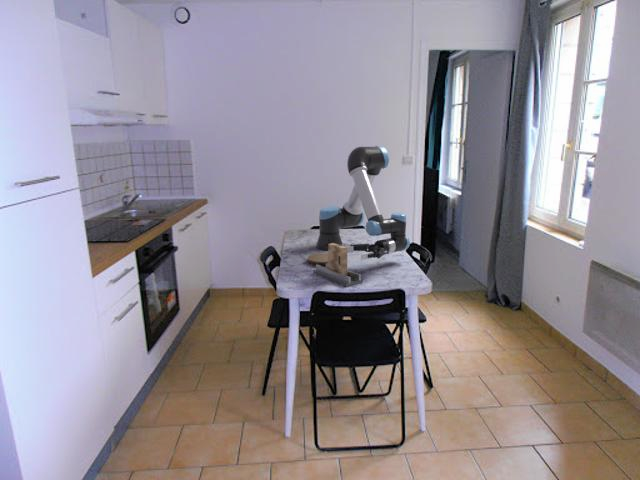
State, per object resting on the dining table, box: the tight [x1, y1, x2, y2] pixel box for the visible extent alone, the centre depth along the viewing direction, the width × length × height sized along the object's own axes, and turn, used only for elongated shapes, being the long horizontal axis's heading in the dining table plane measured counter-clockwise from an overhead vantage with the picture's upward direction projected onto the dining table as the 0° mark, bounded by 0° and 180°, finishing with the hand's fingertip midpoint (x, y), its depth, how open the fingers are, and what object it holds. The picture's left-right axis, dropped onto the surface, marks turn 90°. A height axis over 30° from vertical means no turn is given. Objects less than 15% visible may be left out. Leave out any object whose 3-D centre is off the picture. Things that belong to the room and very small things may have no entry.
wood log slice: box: [306, 252, 328, 268], centre depth 232 cm, size 16×16×3 cm
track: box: [312, 263, 364, 288], centre depth 208 cm, size 24×10×4 cm, turn 37°
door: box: [327, 243, 348, 276], centre depth 206 cm, size 10×3×14 cm, turn 38°
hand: (352, 253), depth 211 cm, fingers open, 13 cm apart
